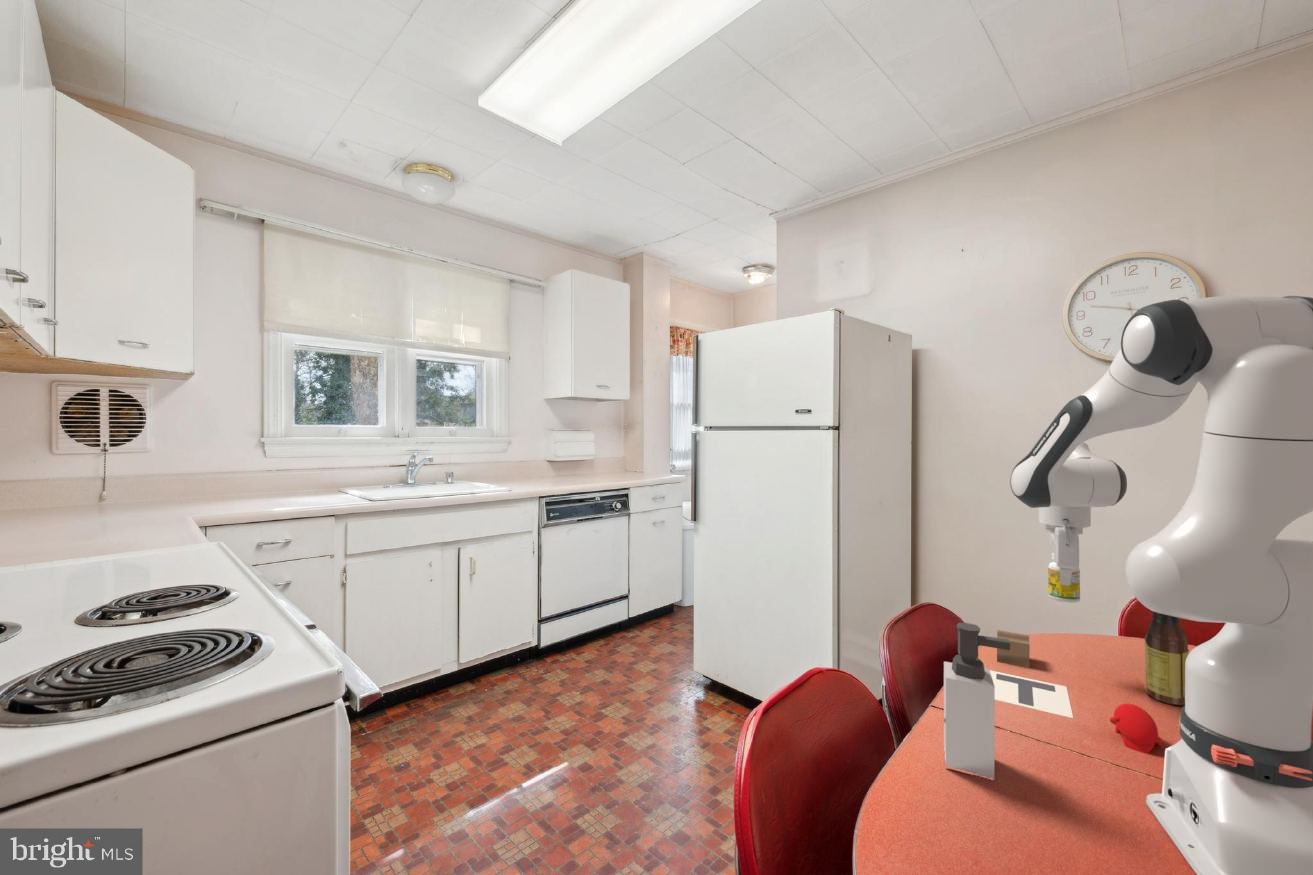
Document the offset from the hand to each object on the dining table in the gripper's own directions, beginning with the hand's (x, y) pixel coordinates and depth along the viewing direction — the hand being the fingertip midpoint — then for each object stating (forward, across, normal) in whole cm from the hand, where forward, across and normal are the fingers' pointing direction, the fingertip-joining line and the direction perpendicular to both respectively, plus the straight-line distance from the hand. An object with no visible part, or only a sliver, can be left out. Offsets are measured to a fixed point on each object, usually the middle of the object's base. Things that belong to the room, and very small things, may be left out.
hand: (1063, 580), depth 112 cm
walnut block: (+21, +2, +9) cm, 23 cm away
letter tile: (+21, -14, +7) cm, 26 cm away
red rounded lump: (+21, -23, -8) cm, 33 cm away
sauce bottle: (+21, 0, -16) cm, 26 cm away
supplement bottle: (+4, 0, 0) cm, 4 cm away
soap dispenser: (+21, -44, +14) cm, 51 cm away
